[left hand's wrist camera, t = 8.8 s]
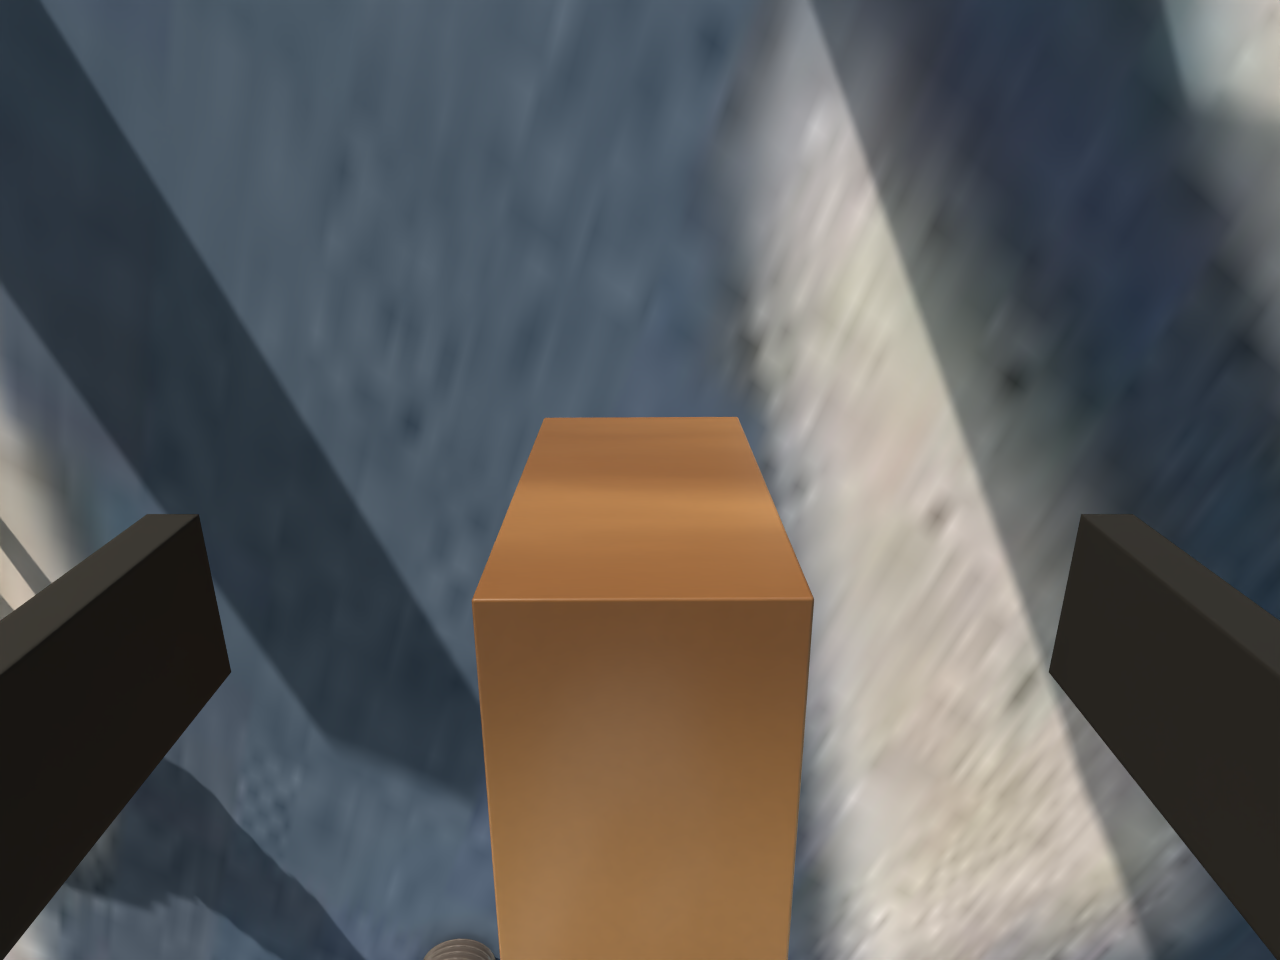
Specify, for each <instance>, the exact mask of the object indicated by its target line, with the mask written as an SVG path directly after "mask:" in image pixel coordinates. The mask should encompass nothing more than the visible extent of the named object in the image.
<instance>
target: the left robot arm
mask: <svg viewBox="0 0 1280 960" xmlns="http://www.w3.org/2000/svg"><path fill="white" fill-rule="evenodd" d="M230 673H231V669H230V664H229V659H228V654H227V649H226V645H225V640H224V635H223V630H222V625H221V620H220V615H219V611H218V606H217V601H216V596H215V591H214V586H213V581H212V577H211V572H210V567H209V562H208V557H207V552H206V547H205V543H204V538H203V533H202V528H201V523H200V518H199V514H147V515H146V516H144V517H143V518H141V519H140V520H139V521H137V522H136V523H134V524H133V525H132V526H130V527H129V528H128V529H126V530H125V531H123V532H122V533H121V534H119V535H118V536H117V537H115V538H114V539H112V540H111V541H110V542H108V543H107V544H106V545H104V546H103V547H101V548H100V549H99V550H97V551H96V552H95V553H93V554H92V555H90V556H89V557H88V558H86V559H85V560H84V561H82V562H81V563H79V564H78V565H77V566H75V567H74V568H72V569H71V570H70V571H68V572H67V573H66V574H64V575H63V576H61V577H60V578H59V579H57V580H56V581H55V582H53V583H52V584H50V585H49V586H48V587H46V588H45V589H44V590H42V591H41V592H39V593H38V594H37V595H35V596H34V597H33V598H31V599H30V600H28V601H27V602H26V603H24V604H23V605H22V606H20V607H19V608H17V609H16V610H15V611H13V612H12V613H10V614H9V615H8V616H6V617H5V618H4V619H2V620H1V621H0V960H3V959H4V958H5V957H6V955H7V954H8V953H9V951H10V950H11V949H12V948H13V946H14V945H15V944H16V943H17V941H18V940H19V939H20V938H21V936H22V935H23V934H24V933H25V931H26V930H27V929H28V928H29V926H30V925H31V924H32V922H33V921H34V920H35V919H36V917H37V916H38V915H39V914H40V912H41V911H42V910H43V909H44V907H45V906H46V905H47V904H48V902H49V901H50V900H51V899H52V897H53V896H54V895H55V893H56V892H57V891H58V890H59V888H60V887H61V886H62V885H63V883H64V882H65V881H66V880H67V878H68V877H69V876H70V875H71V873H72V872H73V871H74V870H75V868H76V867H77V866H78V864H79V863H80V862H81V861H82V859H83V858H84V857H85V856H86V854H87V853H88V852H89V851H90V849H91V848H92V847H93V846H94V844H95V843H96V842H97V841H98V839H99V838H100V837H101V835H102V834H103V833H104V832H105V830H106V829H107V828H108V827H109V825H110V824H111V823H112V822H113V820H114V819H115V818H116V817H117V815H118V814H119V813H120V812H121V810H122V809H123V808H124V807H125V805H126V804H127V803H128V801H129V800H130V799H131V798H132V796H133V795H134V794H135V793H136V791H137V790H138V789H139V788H140V786H141V785H142V784H143V783H144V781H145V780H146V779H147V778H148V776H149V775H150V774H151V772H152V771H153V770H154V769H155V767H156V766H157V765H158V764H159V762H160V761H161V760H162V759H163V757H164V756H165V755H166V754H167V752H168V751H169V750H170V749H171V747H172V746H173V745H174V743H175V742H176V741H177V740H178V738H179V737H180V736H181V735H182V733H183V732H184V731H185V730H186V728H187V727H188V726H189V725H190V723H191V722H192V721H193V720H194V718H195V717H196V716H197V714H198V713H199V712H200V711H201V709H202V708H203V707H204V706H205V704H206V703H207V702H208V701H209V699H210V698H211V697H212V696H213V694H214V693H215V692H216V691H217V689H218V688H219V687H220V685H221V684H222V683H223V682H224V680H225V679H226V678H227V677H228V675H229V674H230ZM1049 673H1050V674H1051V675H1052V677H1053V678H1054V679H1055V680H1056V682H1057V683H1058V684H1059V685H1060V687H1061V688H1062V689H1063V691H1064V692H1065V693H1066V694H1067V696H1068V697H1069V698H1070V699H1071V701H1072V702H1073V703H1074V704H1075V706H1076V707H1077V708H1078V709H1079V711H1080V712H1081V713H1082V714H1083V716H1084V717H1085V718H1086V720H1087V721H1088V722H1089V723H1090V725H1091V726H1092V727H1093V728H1094V730H1095V731H1096V732H1097V733H1098V735H1099V736H1100V737H1101V738H1102V740H1103V741H1104V742H1105V743H1106V745H1107V746H1108V747H1109V749H1110V750H1111V751H1112V752H1113V754H1114V755H1115V756H1116V757H1117V759H1118V760H1119V761H1120V762H1121V764H1122V765H1123V766H1124V767H1125V769H1126V770H1127V771H1128V772H1129V774H1130V775H1131V776H1132V778H1133V779H1134V780H1135V781H1136V783H1137V784H1138V785H1139V786H1140V788H1141V789H1142V790H1143V791H1144V793H1145V794H1146V795H1147V796H1148V798H1149V799H1150V800H1151V801H1152V803H1153V804H1154V805H1155V807H1156V808H1157V809H1158V810H1159V812H1160V813H1161V814H1162V815H1163V817H1164V818H1165V819H1166V820H1167V822H1168V823H1169V824H1170V825H1171V827H1172V828H1173V829H1174V830H1175V832H1176V833H1177V834H1178V835H1179V837H1180V838H1181V839H1182V841H1183V842H1184V843H1185V844H1186V846H1187V847H1188V848H1189V849H1190V851H1191V852H1192V853H1193V854H1194V856H1195V857H1196V858H1197V859H1198V861H1199V862H1200V863H1201V864H1202V866H1203V867H1204V868H1205V870H1206V871H1207V872H1208V873H1209V875H1210V876H1211V877H1212V878H1213V880H1214V881H1215V882H1216V883H1217V885H1218V886H1219V887H1220V888H1221V890H1222V891H1223V892H1224V893H1225V895H1226V896H1227V897H1228V899H1229V900H1230V901H1231V902H1232V904H1233V905H1234V906H1235V907H1236V909H1237V910H1238V911H1239V912H1240V914H1241V915H1242V916H1243V917H1244V919H1245V920H1246V921H1247V922H1248V924H1249V925H1250V926H1251V928H1252V929H1253V930H1254V931H1255V933H1256V934H1257V935H1258V936H1259V938H1260V939H1261V940H1262V941H1263V943H1264V944H1265V945H1266V946H1267V948H1268V949H1269V950H1270V951H1271V953H1272V954H1273V955H1274V957H1275V958H1276V959H1277V960H1280V621H1279V620H1278V619H1276V618H1275V617H1274V616H1272V615H1271V614H1270V613H1268V612H1267V611H1265V610H1264V609H1263V608H1261V607H1260V606H1258V605H1257V604H1256V603H1254V602H1253V601H1252V600H1250V599H1249V598H1247V597H1246V596H1245V595H1243V594H1242V593H1241V592H1239V591H1238V590H1236V589H1235V588H1234V587H1232V586H1231V585H1230V584H1228V583H1227V582H1225V581H1224V580H1223V579H1221V578H1220V577H1219V576H1217V575H1216V574H1214V573H1213V572H1212V571H1210V570H1209V569H1208V568H1206V567H1205V566H1203V565H1202V564H1201V563H1199V562H1198V561H1196V560H1195V559H1194V558H1192V557H1191V556H1190V555H1188V554H1187V553H1185V552H1184V551H1183V550H1181V549H1180V548H1179V547H1177V546H1176V545H1174V544H1173V543H1172V542H1170V541H1169V540H1168V539H1166V538H1165V537H1163V536H1162V535H1161V534H1159V533H1158V532H1157V531H1155V530H1154V529H1152V528H1151V527H1150V526H1148V525H1147V524H1146V523H1144V522H1143V521H1141V520H1140V519H1139V518H1137V517H1136V516H1134V515H1133V514H1081V518H1080V523H1079V528H1078V533H1077V538H1076V543H1075V547H1074V552H1073V557H1072V562H1071V567H1070V572H1069V577H1068V581H1067V586H1066V591H1065V596H1064V601H1063V606H1062V611H1061V615H1060V620H1059V625H1058V630H1057V635H1056V640H1055V645H1054V649H1053V654H1052V659H1051V664H1050V669H1049Z"/></svg>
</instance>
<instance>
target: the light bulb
mask: <svg viewBox="0 0 1280 960" xmlns="http://www.w3.org/2000/svg"><path fill="white" fill-rule="evenodd" d="M424 960H495V957H494V955H493V953H492V952H491V950H490V949H489V948H488V947H486V946H485V945H484V944H482V943H480V942H477V941H474V940H469V939H454V940H449V941H446V942H443V943H441V944H439V945H437V946H435V947H434V948H433V949H431V950H430V951H429V952H428V953H427V955H426V956H425V958H424Z"/></svg>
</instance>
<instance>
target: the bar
mask: <svg viewBox="0 0 1280 960" xmlns="http://www.w3.org/2000/svg"><path fill="white" fill-rule="evenodd" d="M813 607H814V598H813V596H812V593H811V591H810V588H809V586H808V584H807V581H806V579H805V576H804V574H803V572H802V569H801V567H800V565H799V562H798V560H797V557H796V555H795V553H794V550H793V548H792V545H791V543H790V541H789V538H788V536H787V534H786V531H785V529H784V526H783V524H782V522H781V519H780V517H779V514H778V512H777V510H776V507H775V505H774V503H773V500H772V498H771V495H770V493H769V491H768V488H767V486H766V483H765V481H764V479H763V476H762V474H761V472H760V469H759V467H758V464H757V462H756V460H755V457H754V455H753V452H752V450H751V448H750V445H749V443H748V441H747V438H746V436H745V433H744V431H743V429H742V426H741V424H740V421H739V419H738V418H737V417H649V418H544V420H543V423H542V425H541V428H540V430H539V433H538V435H537V438H536V440H535V443H534V445H533V448H532V450H531V453H530V455H529V458H528V461H527V463H526V466H525V468H524V471H523V473H522V476H521V478H520V481H519V483H518V486H517V488H516V491H515V493H514V496H513V498H512V501H511V503H510V506H509V508H508V511H507V513H506V516H505V518H504V521H503V523H502V526H501V528H500V531H499V534H498V536H497V539H496V541H495V544H494V546H493V549H492V551H491V554H490V556H489V559H488V561H487V564H486V566H485V569H484V571H483V574H482V576H481V579H480V581H479V584H478V586H477V589H476V591H475V594H474V596H473V599H472V611H473V623H474V636H475V648H476V661H477V673H478V686H479V698H480V711H481V723H482V736H483V748H484V761H485V773H486V786H487V798H488V811H489V823H490V836H491V848H492V861H493V873H494V886H495V898H496V911H497V923H498V936H499V948H500V960H788V949H789V935H790V922H791V908H792V894H793V881H794V867H795V853H796V840H797V826H798V812H799V799H800V785H801V771H802V758H803V744H804V730H805V717H806V703H807V689H808V676H809V662H810V648H811V635H812V621H813Z"/></svg>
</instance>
